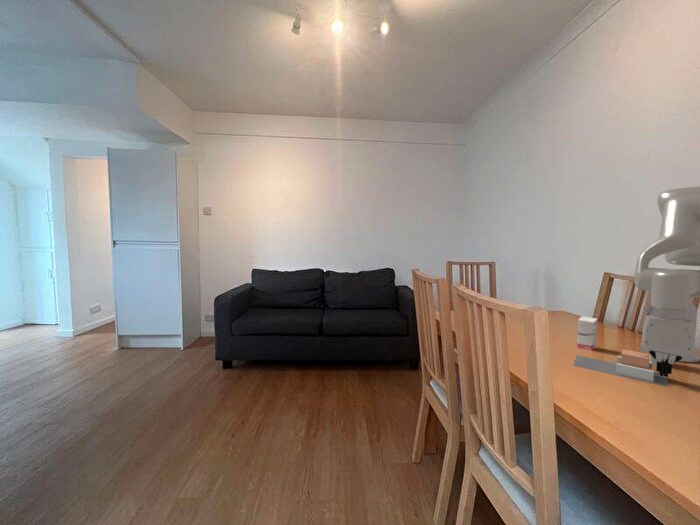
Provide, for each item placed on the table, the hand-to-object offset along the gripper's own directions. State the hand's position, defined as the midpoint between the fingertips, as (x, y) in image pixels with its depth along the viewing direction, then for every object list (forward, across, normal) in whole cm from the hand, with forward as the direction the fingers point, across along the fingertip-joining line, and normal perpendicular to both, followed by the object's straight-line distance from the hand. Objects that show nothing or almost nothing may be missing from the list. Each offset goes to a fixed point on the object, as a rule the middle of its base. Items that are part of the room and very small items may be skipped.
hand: (663, 374), depth 88 cm
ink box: (+3, -19, +20) cm, 28 cm away
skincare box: (+3, 0, +16) cm, 16 cm away
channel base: (+2, -10, 0) cm, 10 cm away
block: (+1, -6, 0) cm, 6 cm away
